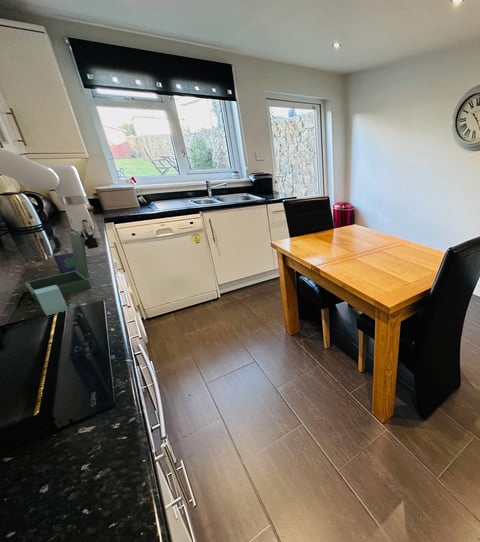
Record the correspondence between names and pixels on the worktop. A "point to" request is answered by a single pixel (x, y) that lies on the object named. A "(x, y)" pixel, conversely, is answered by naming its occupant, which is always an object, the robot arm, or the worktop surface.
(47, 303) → the pale green block
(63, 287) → the green open tray
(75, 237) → the bin lid
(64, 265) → the purple box
